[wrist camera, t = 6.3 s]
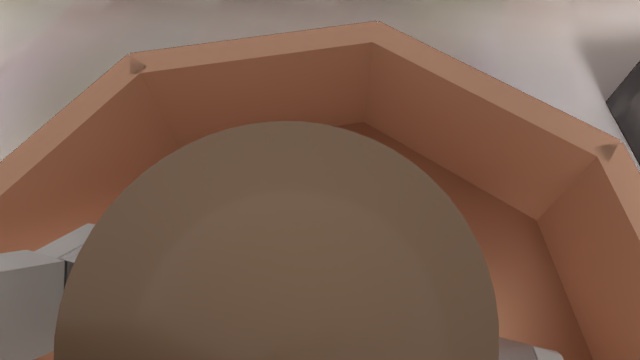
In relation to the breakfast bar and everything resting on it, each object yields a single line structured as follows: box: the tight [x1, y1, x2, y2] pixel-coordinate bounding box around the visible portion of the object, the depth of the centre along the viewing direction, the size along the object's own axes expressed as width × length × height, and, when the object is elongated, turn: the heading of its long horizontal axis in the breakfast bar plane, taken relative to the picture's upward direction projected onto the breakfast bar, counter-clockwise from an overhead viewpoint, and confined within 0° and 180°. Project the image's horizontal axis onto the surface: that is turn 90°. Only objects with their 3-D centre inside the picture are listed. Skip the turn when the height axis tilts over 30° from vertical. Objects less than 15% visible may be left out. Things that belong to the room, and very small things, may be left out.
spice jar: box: [54, 121, 499, 360], centre depth 10 cm, size 6×6×8 cm
